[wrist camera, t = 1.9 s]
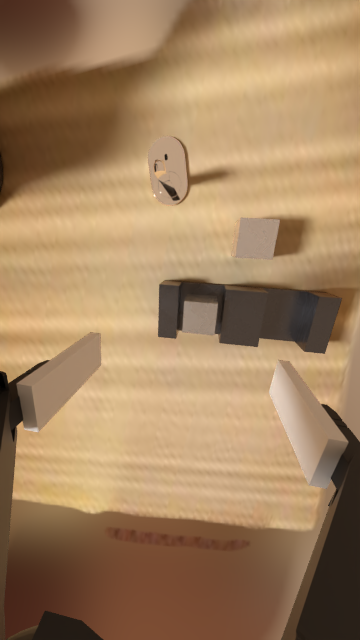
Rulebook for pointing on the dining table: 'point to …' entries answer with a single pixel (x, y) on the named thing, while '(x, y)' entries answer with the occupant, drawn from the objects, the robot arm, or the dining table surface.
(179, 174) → the stand
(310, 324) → the rail
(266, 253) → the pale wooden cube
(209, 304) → the light grey cube
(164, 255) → the dining table surface
